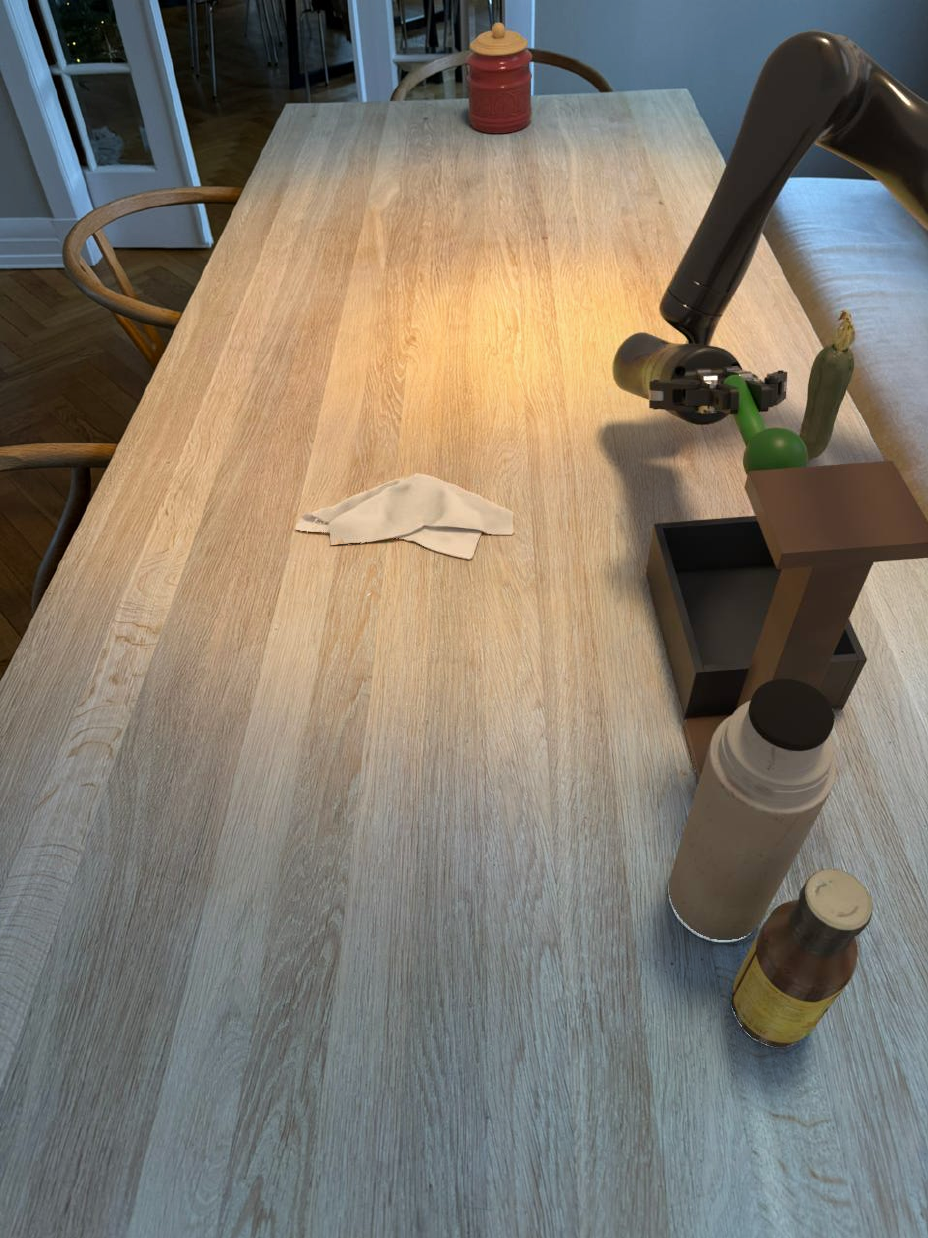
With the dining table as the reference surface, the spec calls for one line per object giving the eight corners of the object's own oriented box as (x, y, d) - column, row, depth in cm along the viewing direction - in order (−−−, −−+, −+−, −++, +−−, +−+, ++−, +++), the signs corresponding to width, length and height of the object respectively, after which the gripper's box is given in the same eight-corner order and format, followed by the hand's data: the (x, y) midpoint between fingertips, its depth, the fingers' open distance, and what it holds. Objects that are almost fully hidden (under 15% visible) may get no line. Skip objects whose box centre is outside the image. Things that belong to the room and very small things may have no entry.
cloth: (525, 488, 109) (525, 474, 107) (504, 568, 100) (504, 554, 98) (325, 466, 113) (322, 452, 111) (289, 540, 105) (285, 527, 103)
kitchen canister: (502, 104, 188) (501, 7, 174) (544, 120, 181) (546, 21, 168) (456, 122, 183) (450, 24, 169) (497, 140, 176) (495, 38, 162)
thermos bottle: (700, 835, 78) (766, 635, 56) (782, 891, 74) (886, 700, 53) (648, 901, 74) (699, 714, 53) (732, 964, 70) (823, 791, 49)
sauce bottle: (814, 1057, 66) (903, 965, 51) (729, 1044, 67) (790, 950, 52) (807, 970, 70) (886, 861, 55) (726, 959, 71) (782, 848, 56)
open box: (784, 563, 98) (801, 511, 92) (843, 708, 86) (867, 659, 80) (645, 574, 98) (653, 523, 92) (683, 720, 86) (695, 672, 80)
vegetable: (823, 475, 107) (873, 328, 92) (786, 472, 108) (830, 326, 93) (819, 451, 110) (867, 305, 95) (783, 449, 111) (825, 303, 96)
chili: (756, 386, 79) (767, 339, 75) (815, 518, 68) (832, 470, 64) (702, 391, 79) (711, 344, 75) (753, 522, 68) (766, 475, 64)
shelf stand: (786, 718, 85) (892, 459, 61) (812, 792, 80) (939, 541, 56) (683, 726, 85) (748, 470, 61) (702, 800, 80) (782, 553, 56)
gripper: (626, 349, 89) (668, 359, 73) (763, 339, 89) (835, 347, 73) (627, 424, 91) (667, 451, 75) (759, 414, 91) (829, 439, 75)
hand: (750, 400), depth 74 cm, fingers closed on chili
